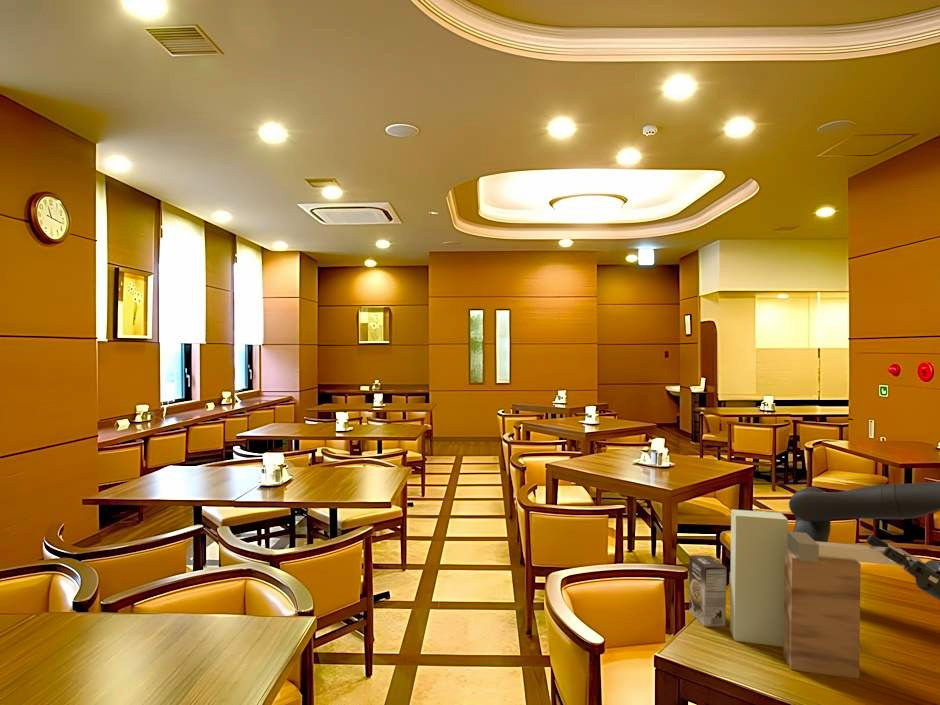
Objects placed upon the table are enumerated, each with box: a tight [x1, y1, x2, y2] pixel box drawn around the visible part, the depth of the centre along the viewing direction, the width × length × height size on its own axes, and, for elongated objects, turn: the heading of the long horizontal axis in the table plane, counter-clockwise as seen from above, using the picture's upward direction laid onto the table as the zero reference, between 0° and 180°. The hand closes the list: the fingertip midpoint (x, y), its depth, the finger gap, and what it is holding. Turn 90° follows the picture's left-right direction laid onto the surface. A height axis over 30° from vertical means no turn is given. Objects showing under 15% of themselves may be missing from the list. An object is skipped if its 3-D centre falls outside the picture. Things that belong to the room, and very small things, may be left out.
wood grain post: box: [782, 549, 862, 680], centre depth 133 cm, size 6×14×26 cm, turn 76°
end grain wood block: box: [788, 530, 904, 567], centre depth 132 cm, size 9×22×4 cm, turn 76°
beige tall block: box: [729, 509, 789, 648], centre depth 147 cm, size 6×12×32 cm, turn 76°
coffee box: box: [688, 554, 728, 627], centre depth 157 cm, size 9×6×16 cm
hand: (876, 544), depth 130 cm, fingers open, 8 cm apart
